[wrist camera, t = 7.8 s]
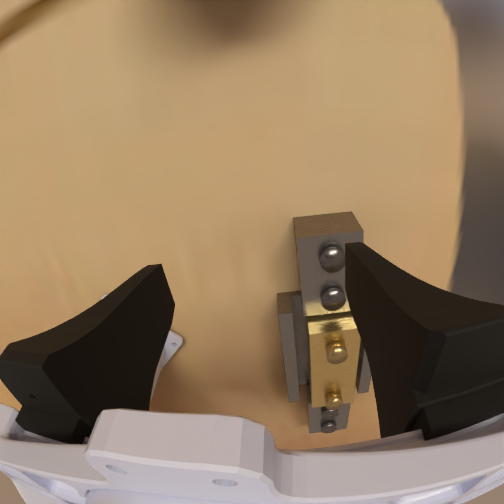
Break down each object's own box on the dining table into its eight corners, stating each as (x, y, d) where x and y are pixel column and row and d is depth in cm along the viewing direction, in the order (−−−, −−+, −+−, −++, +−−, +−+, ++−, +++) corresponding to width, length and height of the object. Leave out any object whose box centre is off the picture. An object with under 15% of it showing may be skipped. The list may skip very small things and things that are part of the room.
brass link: (345, 368, 27) (354, 411, 23) (308, 373, 28) (312, 417, 23) (349, 292, 23) (364, 338, 19) (304, 297, 24) (310, 345, 19)
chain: (357, 404, 31) (363, 430, 28) (291, 412, 32) (292, 439, 29) (375, 209, 20) (393, 231, 17) (267, 220, 21) (267, 246, 18)
